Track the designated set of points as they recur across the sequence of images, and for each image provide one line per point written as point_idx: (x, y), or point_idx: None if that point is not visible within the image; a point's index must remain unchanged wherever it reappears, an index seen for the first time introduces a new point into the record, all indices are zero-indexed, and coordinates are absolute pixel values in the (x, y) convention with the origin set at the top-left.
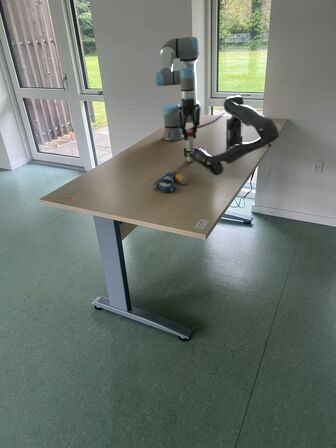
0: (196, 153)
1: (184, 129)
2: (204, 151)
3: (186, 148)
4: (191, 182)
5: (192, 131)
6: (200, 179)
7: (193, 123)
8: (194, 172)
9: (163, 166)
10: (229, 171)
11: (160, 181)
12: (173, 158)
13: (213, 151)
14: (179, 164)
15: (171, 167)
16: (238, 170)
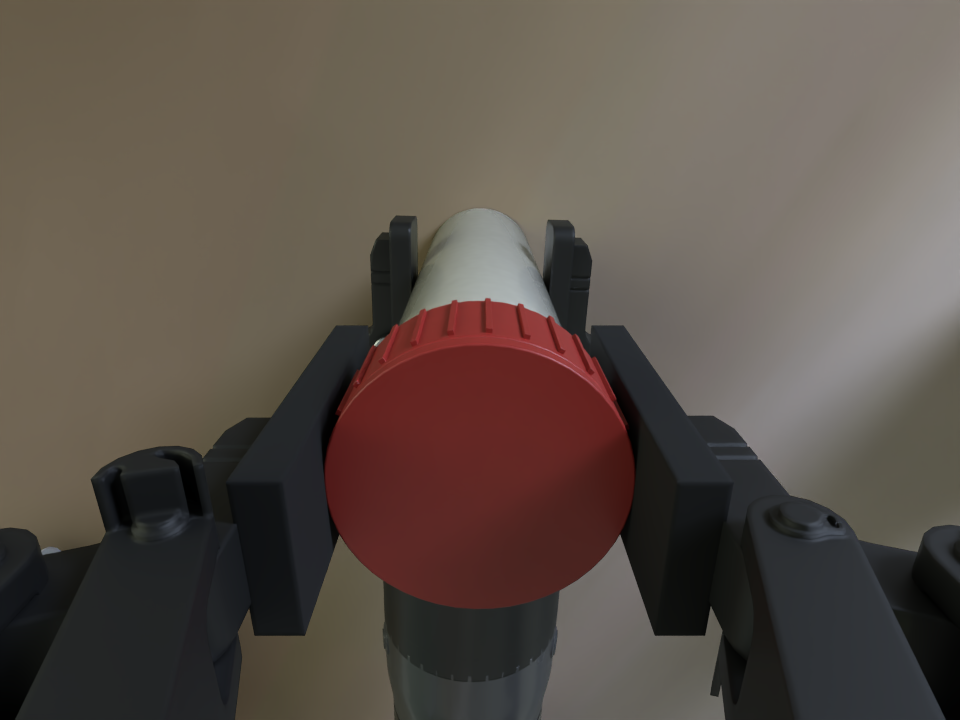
0: (401, 655)
1: (237, 600)
2: (501, 716)
3: (416, 281)
4: (251, 713)
5: (536, 576)
6: (341, 705)
7: (753, 685)
8: (357, 575)
9: (76, 246)
10: (636, 699)
11: None
12: (290, 24)
13: (941, 127)
14: (292, 304)
15: (170, 335)
16: (709, 716)
